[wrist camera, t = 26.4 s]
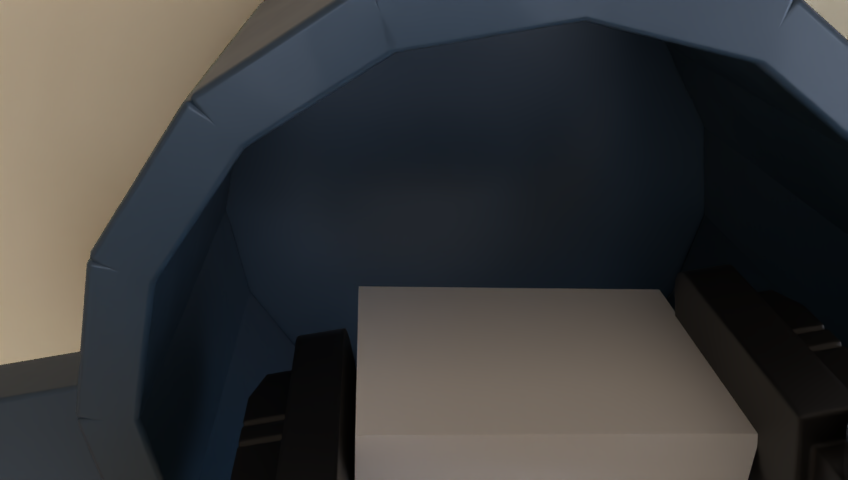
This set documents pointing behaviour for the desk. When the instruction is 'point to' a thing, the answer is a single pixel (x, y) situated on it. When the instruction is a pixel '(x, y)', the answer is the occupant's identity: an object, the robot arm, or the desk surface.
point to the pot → (435, 197)
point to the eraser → (538, 388)
